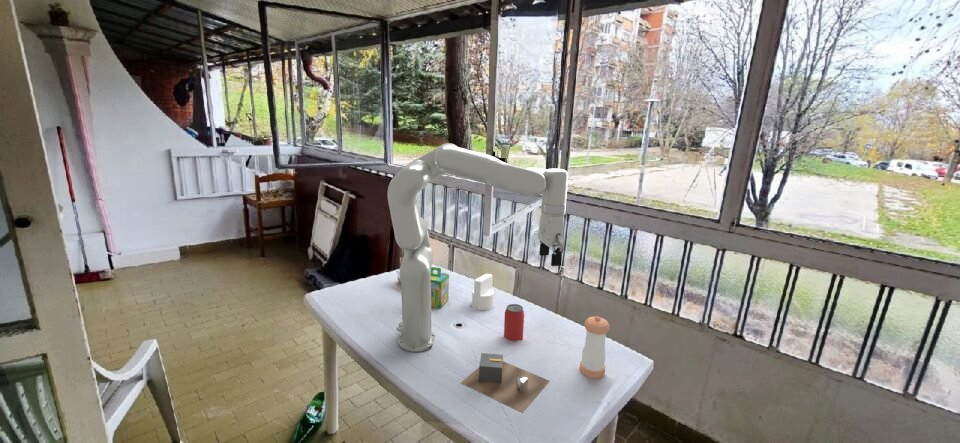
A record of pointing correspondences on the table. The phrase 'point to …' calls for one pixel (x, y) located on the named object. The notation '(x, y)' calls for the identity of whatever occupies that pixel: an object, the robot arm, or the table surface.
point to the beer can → (514, 322)
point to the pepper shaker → (594, 348)
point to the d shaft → (521, 383)
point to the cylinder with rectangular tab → (483, 293)
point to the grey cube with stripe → (490, 368)
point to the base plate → (509, 387)
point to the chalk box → (439, 288)
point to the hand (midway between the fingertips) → (549, 260)
